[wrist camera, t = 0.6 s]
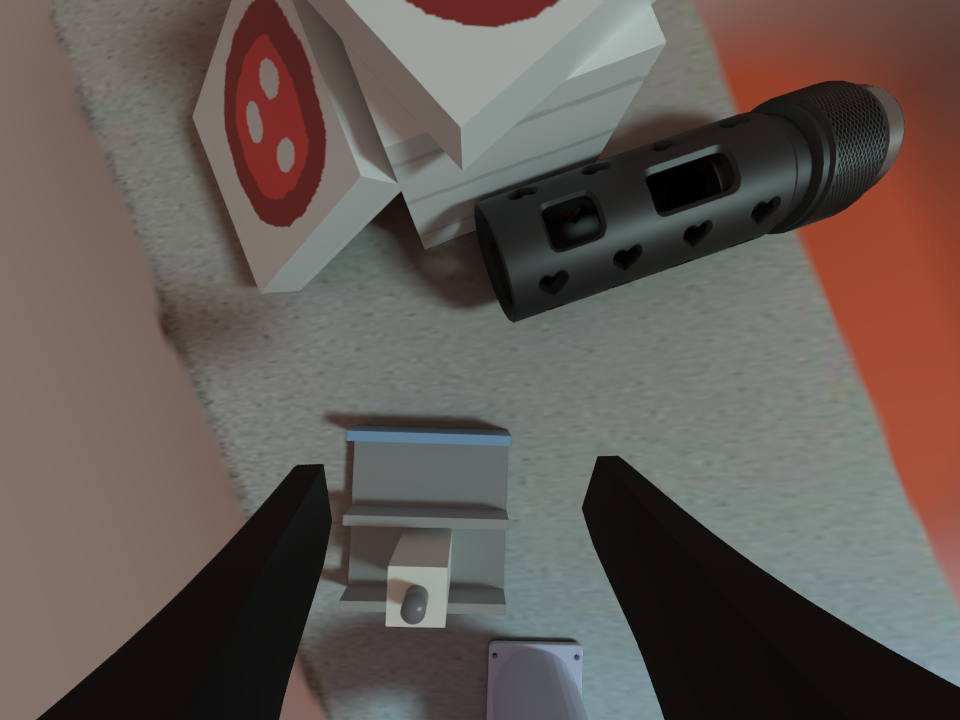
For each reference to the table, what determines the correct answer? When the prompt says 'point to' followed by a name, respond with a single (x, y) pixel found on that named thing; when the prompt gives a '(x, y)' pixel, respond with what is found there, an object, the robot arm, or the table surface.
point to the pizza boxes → (405, 112)
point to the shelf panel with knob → (429, 510)
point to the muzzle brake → (688, 195)
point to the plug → (419, 579)
